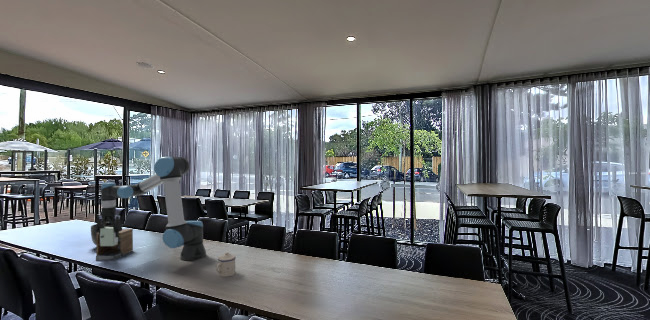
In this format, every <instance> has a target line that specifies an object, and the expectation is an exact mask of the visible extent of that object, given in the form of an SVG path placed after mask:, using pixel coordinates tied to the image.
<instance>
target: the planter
mask: <svg viewBox="0 0 650 320" xmlns="http://www.w3.org/2000/svg"><path fill="white" fill-rule="evenodd" d="M101 224H102V222H101ZM96 225H97V223H95V224H93V225H90V236H91V241H92V243H93V244H94V245H95V246H97V245H96V233H99V232H96ZM105 227H113V226H112V224H111V223H110V222H107V223H106V225H105Z"/></svg>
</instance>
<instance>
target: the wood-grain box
mask: <svg viewBox="0 0 650 320" xmlns="http://www.w3.org/2000/svg"><path fill="white" fill-rule="evenodd" d="M133 235H134V234H133V228H122V231H119V237H121V243H118V244H117V245H114V246H100V238H99V233H96V245H95V246H96V256H98V255H100V254H102V253H105V252H123V256H124V255H126V254H128V253H131V252H133V250H134V243H133V242H134V241H133V240H134V239H133V238H134V237H133ZM118 245H121V251H118Z"/></svg>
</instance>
